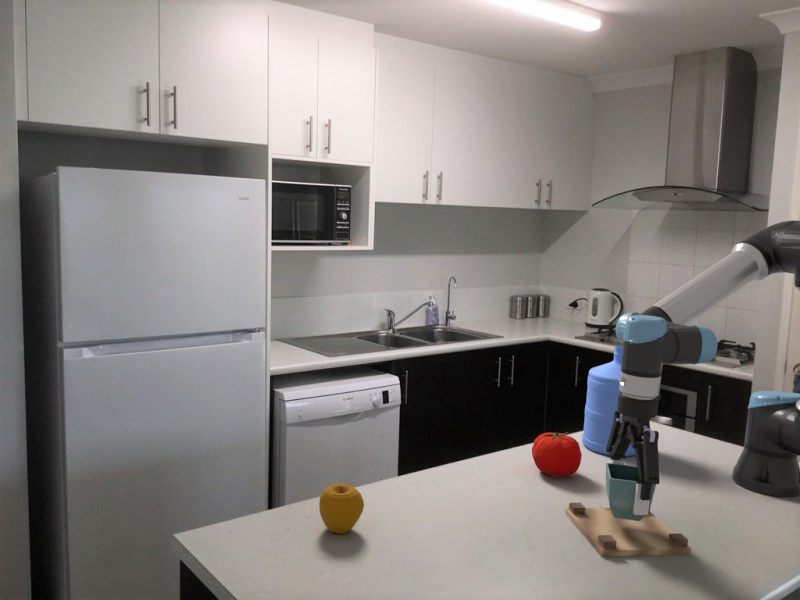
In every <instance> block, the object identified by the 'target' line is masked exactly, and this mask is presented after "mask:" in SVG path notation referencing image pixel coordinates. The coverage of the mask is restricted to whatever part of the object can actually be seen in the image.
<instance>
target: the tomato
mask: <svg viewBox="0 0 800 600" xmlns="http://www.w3.org/2000/svg"><path fill="white" fill-rule="evenodd" d="M568 433H569V431H567V432H565V433H559V432H550V431H549V432H544V433H541V434H539V435H538V436H537V437H536V438H535V439H534V441H533V445H532V447H531V455H532V458H533V461H534V464H535V467H536V468H537V469H538V470H539V471H541V472H542V473H544V474H546V475H548V476H550V477H558V478H559V477H561V478H567V477H570V476H572V475H574V474H575V473H577V471H578V470H579V468H580V466H581V464H582V463H581V462H582V458H583V457H582V450H581V448H580V443H579V442H578V441H577V440H576V439H575V438H574V437H572V435H571V436H569V435H567V434H568Z"/></svg>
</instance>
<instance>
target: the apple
mask: <svg viewBox="0 0 800 600" xmlns="http://www.w3.org/2000/svg"><path fill="white" fill-rule="evenodd" d="M364 507H365V504H364V499H363V496H362V494H361V492H360V491H359V490H358V489H357V487H356V488H355V487H354V486H352V485H350V484H349V485H348V484H344V483H334V484H331V485H329V486H327V487H326V488H325V489H324V490H323V491H322V492H321V495H320V496H319V509H318V510H319V513H320V517H321V520H322V522H323V524H324V526H325V528H327V529H328V531H330V532H332V533H333V534H334V533H335V534H340V535H341V534H342V535H343V534H346V533H348V532H350V530H351V531H352V529H353V528H354V527H355V525H356V524H357V522H358V521H359V519H360V518H361V515H362V514H363V512H364Z"/></svg>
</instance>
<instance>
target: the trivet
mask: <svg viewBox="0 0 800 600" xmlns="http://www.w3.org/2000/svg"><path fill="white" fill-rule="evenodd" d="M565 515H566V517H567V518H568V519H569V520H570V521H571V522H572V523H573V525H574V526H575V527H576V528H577V530H578V531H579V532H580V533H581V534H582V536H584V538H585V539H586V540H587V542H588V543H589V544H590V545H591V546H592V547H593V548H594V550H595V551H596V552H597V553H598V554H599V556H600V557H601V558H602V557H630V556H631V557H632V556H634V557H635V556H665V555H667V556H670V555H671V556H672V555H675V556H676V555H691V553H692V547H691V546H690V545H689V538H687V537H686V536H685V535H683V533H680V532H679V533H675V532H674V531H673V530H671V529H670V528H669V526H667V525H666V524H665V523H664V522H662V520H661V519H659V518H658V517H657V516H656V515H655V514H653V513H652V512H651V508H650V509H649V512H648V515H645V516H644V518H643V519H642V520H641V521H634V520H627V519H619V518H614V517H613V514H612V512H611V509H610V507H585V505H583V503H582V502H569V504H568V508H565Z"/></svg>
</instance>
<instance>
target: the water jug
mask: <svg viewBox="0 0 800 600" xmlns="http://www.w3.org/2000/svg"><path fill="white" fill-rule="evenodd" d="M622 352H623V346H620V345H619V346H614V352H613V360H612V361H610V362H607V363H604V364H601V365H597V366H593V367H592V368H590V370H589V371H588V376H587V382H586V384H587V390H586V401H585V402H586V403H585V405H584V407H585V408H584V422H583V433H582V436H581V437H582V438H581V442H582V444H583V446H585V448H587V449H588V450H590V451H592V452H595V453H598V454H601V455H606V456H610V453H607V451H606V447H607V444H608V440H609V436H610V433H611V429H612V425H613V422H614V412H615V411H617V403H618V394H619V393H620V392H621V391H620V390H619V386H620V382H619V378H620V375H621V364H622ZM612 447H613V446H612ZM632 456H633V457H634V456H635V450H634V448H633V447H632V446H631V443H630V445H629V447H628V449H627V451H626V453H625V457H632Z"/></svg>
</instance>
